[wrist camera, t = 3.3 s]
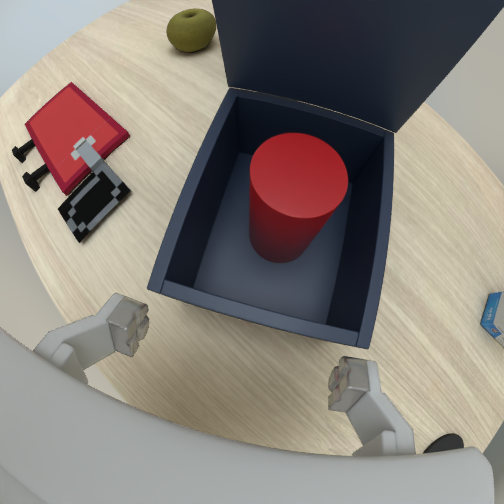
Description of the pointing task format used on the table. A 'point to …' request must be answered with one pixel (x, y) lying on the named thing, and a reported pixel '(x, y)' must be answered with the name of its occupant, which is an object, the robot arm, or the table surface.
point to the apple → (191, 29)
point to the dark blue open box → (317, 253)
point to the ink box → (495, 316)
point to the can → (292, 194)
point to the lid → (349, 50)
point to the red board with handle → (76, 156)
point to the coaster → (445, 444)
